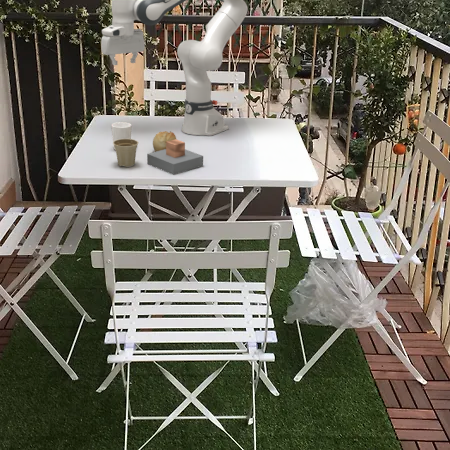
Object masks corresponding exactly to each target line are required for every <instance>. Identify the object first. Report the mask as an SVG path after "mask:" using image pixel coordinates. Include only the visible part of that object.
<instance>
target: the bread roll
mask: <svg viewBox="0 0 450 450" xmlns="http://www.w3.org/2000/svg"><path fill="white" fill-rule="evenodd" d="M176 139H177V136H176V134H175V133H174V132H172V131H167V130H165V131H159V132H157V133H156V134H155V135H154V137H153V140H152V148H153V150H154V152H156V151H160V150H164V149H166V142H167V141H171V140H176Z"/></svg>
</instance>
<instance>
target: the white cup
mask: <svg viewBox="0 0 450 450" xmlns="http://www.w3.org/2000/svg"><path fill="white" fill-rule="evenodd" d="M111 137H112V143H113V142H114V141H115V140H118V139H132V124H131V123H129V122H125V121H123V122H122V121H121V122H120V121H118V122H113V123H112V124H111ZM113 149H114V151H116V149H115V147H114V146H113Z"/></svg>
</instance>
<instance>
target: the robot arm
mask: <svg viewBox="0 0 450 450" xmlns="http://www.w3.org/2000/svg"><path fill="white" fill-rule="evenodd" d="M186 1H187V0H111V13H112V20H111V25H109V26H107V27H105V28H103V29H101V34H102V35H103V36H102V37H101V43H100V44H101V46H100V47H101V49H100V50H101V52H102V54H103V55H106V56H109V58H110V60H111V64H112V65H113V66H118V65H119V64H118V60H116V55H121V54H129V53H131V54H132V56H131V58H129V59H130V63H131V64H136V60H137V58H138V54H139V53H140V52H142V53H143V52H144V51H145V49H146V47H145V39H144V32H143V30H142V29H141V28H136V29H135V25H134V23H135V22H134V21H138V22H141V23H143V24H144V25H146V26H155V25H157V24H159V22H161V20H162V19H163V18H164V17H165V15H166V14H167V13H169V12H170V11H171V10H173V9H175V8H176V7H178V6H179V5H181V4H182V3H185V2H186ZM218 1H220V2H221V3H222V5H221V7H220V8H219V9H218V10H217V12H215V14H214V16H212V18H210V20H209V22H208V23H206V25H205V31H206V33H205V35H204V37H203V39H202V40H201V41H199V40H195V39H186V40H184V41H181V42H180V44H179V45H178V47H177V50H176V51H177V53H176V54H177V56H178V59H179V61H180V62H181V65H182V69H183V73H184V79H185V99H184V110H185V111H184V118H183V122H182V123H183V124H182V127H181V131H182V132H183V133H184V134H188V135H193V136H208V137H209V136H214V135H217V134H220V133H222V132H224V131H227V130H230V129H229V128H230V127H229V125H227V124H225V120H224V119H225V118H224V115H222V114H221V113H220V112H219V111H218V110H217V109H215V108H214V106H217V105H218V102H219V101H218V100H215V99H211V98H212V97H211V96H212V81H211V79H210V78H209V75H208V72H210V71H216V70H218V69H219V68H220V67H221V65H222V64H223V60H224V59H223V57H224V55H223V53H224V52H223V51H224V48H225V46H226V44H227V42H228V41H229V40H230V39H231V37H232V36H233V35H234V34H235V32H236V31H237V29H238V28H239V27H240V26H241V24H242V23H243V21H244V20H245V17H246V16H247V13H248V5H247V2H246V1H245V0H218Z"/></svg>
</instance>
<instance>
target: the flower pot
mask: <svg viewBox="0 0 450 450" xmlns="http://www.w3.org/2000/svg"><path fill="white" fill-rule="evenodd" d="M112 145H113V148H114V147H115V149H116V150H115V152H116V153H115V154H116V159H117V165H118V166H120V167H126V168H127V167H128V168H129V167H133V166H134V165H135V163H136V155H137V148H138V145H139V141H138V140H136V139H133V138H131V139H118V140H115V141H114V142H113V141H112Z"/></svg>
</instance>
